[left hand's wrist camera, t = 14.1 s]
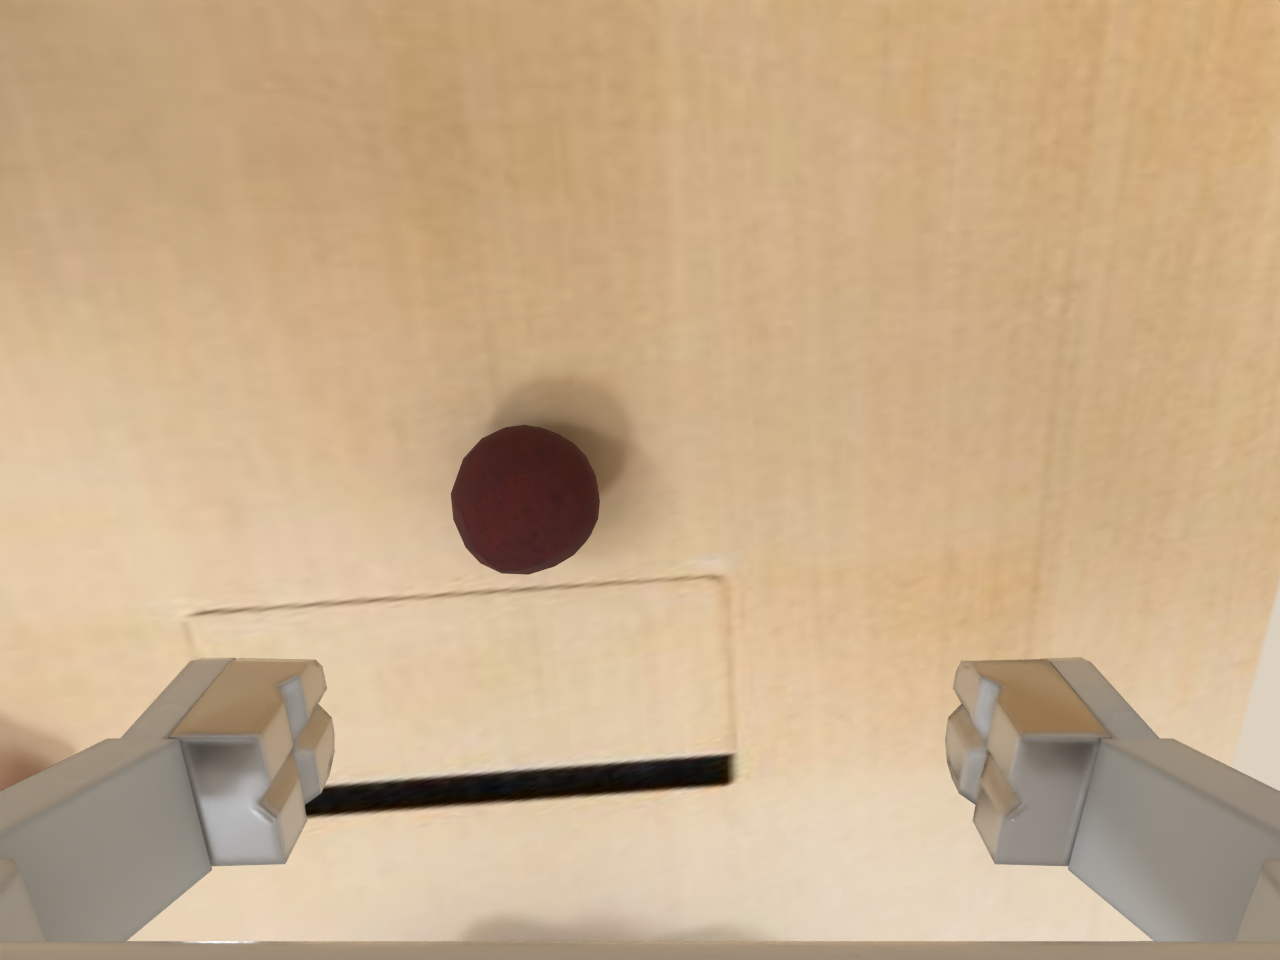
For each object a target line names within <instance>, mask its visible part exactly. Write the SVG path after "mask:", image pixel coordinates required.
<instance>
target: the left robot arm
mask: <svg viewBox="0 0 1280 960" xmlns="http://www.w3.org/2000/svg"><path fill="white" fill-rule="evenodd" d="M326 689H327V686H326V681H325V677H324V672H323V667H322V666H321V665H320V664H319V663H318V662H317V661H316V660H306V659H258V658H239V659H236V658H199V659H196V660H192V661H190V662H189V663H188V664H187V665H186V666H185V667H184V668H183V670H182V671H181V672H180V673H179V674H178V675H177V676H176V677H175V678H174V680H173V681H172V682H171V683H170V684H169V685H168V686H167V687H166V688H165V690H164V691H163V692H162V693H161V694H160V695H159V696H158V697H157V698H156V700H155V701H154V702H153V703H152V704H151V705H150V706H149V707H148V708H147V709H146V711H145V712H144V713H143V714H142V715H141V716H140V717H139V718H138V719H137V721H136V722H135V723H134V724H133V725H132V726H131V727H130V728H129V729H128V731H127V732H126V733H125V734H124V735H123V736H122V737H121V738H120V739H106V740H104V741H101V742H99V743H97V744H95V745H93V746H91V747H89V748H87V749H85V750H83V751H81V752H79V753H77V754H75V755H73V756H71V757H69V758H67V759H65V760H63V761H61V762H59V763H57V764H55V765H53V766H51V767H48V768H46V769H44V770H42V771H40V772H38V773H36V774H34V775H32V776H30V777H28V778H26V779H24V780H22V781H20V782H18V783H16V784H14V785H12V786H10V787H8V788H6V789H4V790H2V791H0V960H1280V791H1278V790H1276V789H1274V788H1272V787H1270V786H1268V785H1266V784H1264V783H1262V782H1260V781H1258V780H1256V779H1254V778H1252V777H1250V776H1248V775H1246V774H1244V773H1241V772H1239V771H1237V770H1235V769H1233V768H1231V767H1229V766H1227V765H1225V764H1223V763H1221V762H1219V761H1217V760H1215V759H1213V758H1211V757H1209V756H1207V755H1205V754H1203V753H1201V752H1199V751H1197V750H1195V749H1193V748H1191V747H1189V746H1187V745H1185V744H1183V743H1181V742H1179V741H1176V740H1174V739H1160V738H1159V737H1158V736H1157V735H1156V734H1155V733H1154V732H1153V731H1152V729H1151V728H1150V727H1149V726H1148V725H1147V724H1146V723H1145V722H1144V721H1143V719H1142V718H1141V717H1140V716H1139V715H1138V714H1137V713H1136V712H1135V711H1134V709H1133V708H1132V707H1131V706H1130V705H1129V704H1128V703H1127V702H1126V701H1125V700H1124V698H1123V697H1122V696H1121V695H1120V694H1119V693H1118V692H1117V691H1116V690H1115V688H1114V687H1113V686H1112V685H1111V684H1110V683H1109V682H1108V681H1107V680H1106V678H1105V677H1104V676H1103V675H1102V674H1101V673H1100V672H1099V671H1098V670H1097V668H1096V667H1095V666H1094V665H1093V664H1092V663H1091V662H1090V661H1087V660H1085V659H1083V658H1081V657H1077V658H1048V659H1035V660H981V661H961V663H960V665H959V667H958V669H957V671H956V675H955V680H954V686H953V689H954V691H955V693H956V694H957V696H958V698H959V700H960V701H961V703H962V704H961V705H960V706H959V707H958V708H957V709H956V710H955V711H954V712H953V713H952V714H951V715H950V716H949V717H948V722H947V730H946V738H945V743H946V755H947V763H948V767H949V770H950V774H951V777H952V779H953V782H954V784H955V786H956V788H957V790H958V792H959V794H961V795H962V796H964V797H965V798H967V799H968V800H969V801H971V802H972V803H974V804H975V805H976V806H975V811H974V817H973V822H974V824H975V826H976V828H977V830H978V832H979V834H980V836H981V838H982V840H983V842H984V844H985V845H986V847H987V849H988V851H989V853H990V855H991V857H992V859H993V861H994V863H995V864H1010V865H1046V866H1069V867H1068V870H1069V871H1070V872H1072V873H1073V874H1074V875H1075V876H1076V877H1078V878H1079V879H1080V880H1081V881H1082V882H1084V883H1085V884H1086V885H1087V886H1088V887H1090V888H1091V889H1092V890H1093V891H1094V892H1096V893H1097V894H1098V895H1099V896H1100V897H1102V898H1103V899H1104V900H1105V901H1106V902H1108V903H1109V904H1110V905H1111V906H1113V907H1114V908H1115V909H1116V910H1117V911H1119V912H1120V913H1121V914H1122V915H1123V916H1125V917H1126V918H1127V919H1128V920H1129V921H1131V922H1132V923H1133V924H1134V925H1135V926H1137V927H1138V928H1139V929H1140V930H1141V931H1143V932H1144V933H1145V934H1146V935H1147V936H1149V937H1150V938H1151V939H1152V940H1153V941H634V942H421V941H127V940H128V939H129V938H130V937H132V936H133V935H134V934H135V933H136V932H138V931H139V930H140V929H141V928H142V927H144V926H145V925H146V924H147V923H149V922H150V921H151V920H152V919H153V918H155V917H156V916H157V915H158V914H159V913H161V912H162V911H163V910H164V909H165V908H167V907H168V906H169V905H170V904H171V903H173V902H174V901H175V900H176V899H177V898H179V897H180V896H181V895H182V894H183V893H185V892H186V891H187V890H188V889H189V888H191V887H192V886H193V885H194V884H196V883H197V882H198V881H199V880H200V879H202V878H203V877H204V876H205V875H206V874H208V873H209V872H210V871H211V870H212V868H211V866H233V865H268V864H285V863H286V861H287V859H288V857H289V855H290V853H291V851H292V850H293V848H294V846H295V844H296V842H297V840H298V838H299V836H300V834H301V832H302V830H303V828H304V826H305V824H306V822H307V817H306V811H305V806H304V805H305V804H306V803H308V802H309V801H311V800H312V799H313V798H315V797H316V796H318V795H319V794H321V792H322V790H323V788H324V786H325V784H326V781H327V779H328V777H329V774H330V770H331V765H332V761H333V756H334V728H333V722H332V717H331V716H330V715H329V714H328V713H327V712H326V711H325V710H324V709H323V708H322V707H321V706H320V705H319V704H318V703H319V701H320V700H321V698H322V696H323V694H324V693H325V691H326Z"/></svg>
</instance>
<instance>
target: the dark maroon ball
mask: <svg viewBox="0 0 1280 960" xmlns="http://www.w3.org/2000/svg"><path fill="white" fill-rule="evenodd" d="M451 500H452V509H453V519H454V522H455V524H456V526H457V529H458V531H459V533H460V535H461V538H462V540H463V542H464V544H465V547H466V548H467V549H468V550H469V551H470V553H471V554H472V555H473V556H474V557H475V558H476V559H477V560H478V561H479V562H480V563H481V564H483V565H485V566H487V567H490V568H492V569H494V570H496V571H498V572H500V573H506V574H532V573H535V572H538V571H541V570H544V569H548V568H551V567H554V566H556V565H558V564H559V563H561V562H563V561H564V560H566V559H568V558H569V557H571V556H573V555H574V554H575V553H576V552H577V551H578V550H579V549H580V547H581V546H582V545H583V544H584V543H585V542H586V541H587V539H588V538H589V536H590V535H591V533H592V531H593V529H594V526H595V524H596V522H597V520H598V513H599V502H600V501H599V492H598V487H597V481H596V476H595V474H594V471H593V469H592V467H591V465H590V463H589V461H588V460H587V458H586V456H585V455H584V454H583V453H582V452H581V451H580V450H579V449H578V448H577V447H576V446H575V445H574V444H573V443H572V442H570V441H568V440H567V439H565V438H563V437H562V436H560V435H558V434H556V433H553V432H551V431H548V430H545V429H543V428H539V427H533V426H527V425H521V426H513V427H506V428H503V429H501V430H499V431H497V432H495V433H493V434H490V435H488V436H486V437H484V438H482V439H481V440H480V441H479V442H478V443H477V444H476V446H475V447H474V448H473V449H472V450H471V451H470V452H469V453H468V454H467V455H466V457H465V458H464V459H463V461H462V464H461V467H460V470H459V473H458V475H457V478H456V481H455V484H454V487H453V489H452V492H451Z"/></svg>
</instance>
